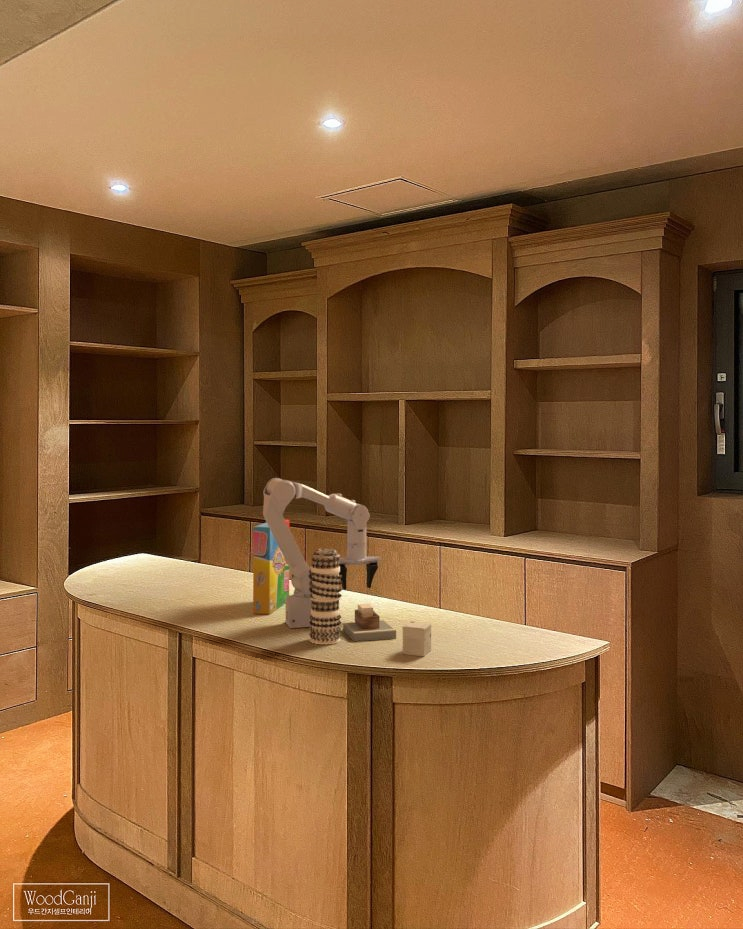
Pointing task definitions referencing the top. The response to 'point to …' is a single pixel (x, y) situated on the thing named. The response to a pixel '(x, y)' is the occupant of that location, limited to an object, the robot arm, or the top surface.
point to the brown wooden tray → (367, 620)
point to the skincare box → (417, 638)
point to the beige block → (365, 610)
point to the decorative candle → (325, 597)
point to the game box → (268, 571)
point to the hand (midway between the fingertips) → (356, 588)
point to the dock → (369, 631)
